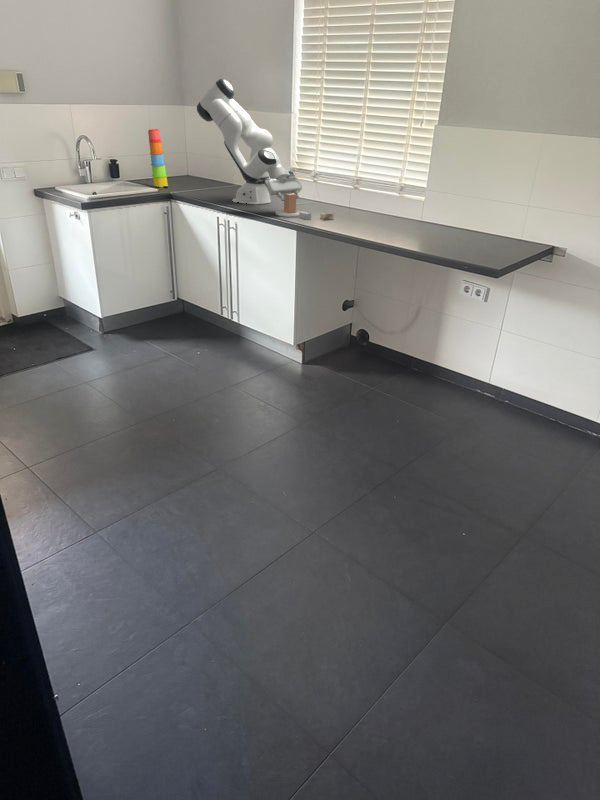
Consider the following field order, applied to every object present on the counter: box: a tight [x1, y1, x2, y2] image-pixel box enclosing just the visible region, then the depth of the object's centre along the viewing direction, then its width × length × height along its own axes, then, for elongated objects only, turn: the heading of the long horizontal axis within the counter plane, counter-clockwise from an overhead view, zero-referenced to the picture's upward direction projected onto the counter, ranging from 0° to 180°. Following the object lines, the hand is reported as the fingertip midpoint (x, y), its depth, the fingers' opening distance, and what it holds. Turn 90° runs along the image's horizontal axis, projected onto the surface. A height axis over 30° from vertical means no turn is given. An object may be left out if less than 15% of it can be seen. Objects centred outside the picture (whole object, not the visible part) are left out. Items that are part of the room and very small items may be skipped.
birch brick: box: [319, 212, 335, 221], centre depth 288 cm, size 6×3×3 cm, turn 121°
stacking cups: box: [147, 128, 169, 187], centre depth 362 cm, size 10×10×35 cm
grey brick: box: [298, 211, 312, 220], centre depth 289 cm, size 6×3×3 cm, turn 36°
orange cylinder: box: [283, 193, 297, 213], centre depth 295 cm, size 4×4×9 cm
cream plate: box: [275, 209, 304, 218], centre depth 297 cm, size 15×15×1 cm
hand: (290, 199), depth 293 cm, fingers open, 8 cm apart
